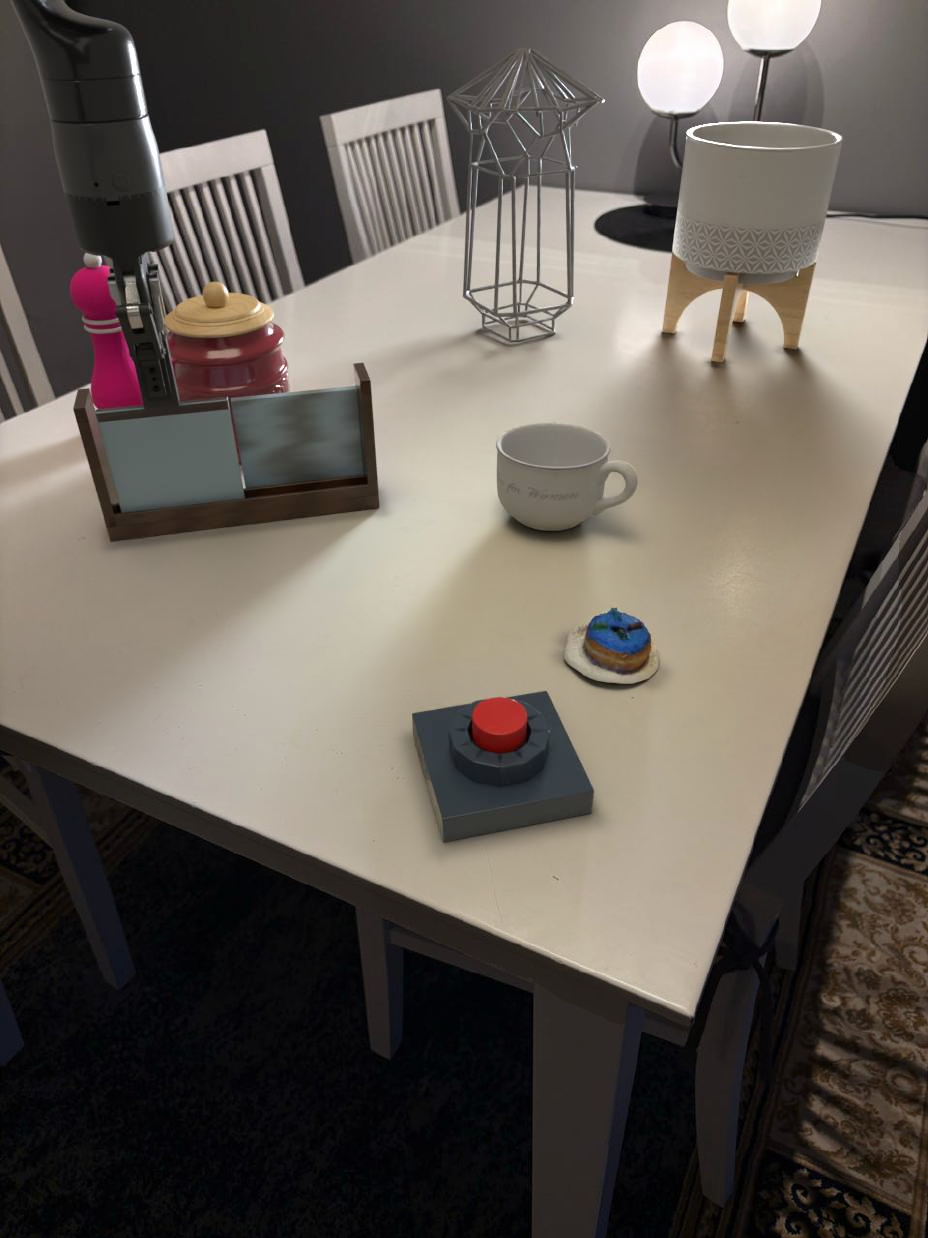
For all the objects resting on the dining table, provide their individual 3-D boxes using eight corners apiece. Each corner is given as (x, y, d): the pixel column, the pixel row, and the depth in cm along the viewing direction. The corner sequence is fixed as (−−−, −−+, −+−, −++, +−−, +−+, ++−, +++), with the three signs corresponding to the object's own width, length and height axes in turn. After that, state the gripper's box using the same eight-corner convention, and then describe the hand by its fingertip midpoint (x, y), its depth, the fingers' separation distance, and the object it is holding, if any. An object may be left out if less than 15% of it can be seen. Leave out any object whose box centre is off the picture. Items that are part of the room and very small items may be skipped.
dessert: (679, 675, 69) (641, 626, 66) (608, 722, 71) (567, 677, 68) (646, 619, 76) (609, 573, 73) (581, 664, 77) (543, 620, 74)
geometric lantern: (500, 357, 124) (505, 57, 103) (444, 323, 135) (439, 45, 114) (593, 336, 130) (616, 49, 109) (532, 305, 141) (543, 39, 120)
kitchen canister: (315, 448, 102) (296, 288, 92) (202, 477, 97) (169, 310, 86) (272, 407, 111) (251, 257, 101) (167, 431, 106) (133, 276, 95)
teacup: (472, 516, 90) (472, 442, 85) (541, 478, 96) (545, 407, 92) (585, 569, 82) (592, 491, 78) (652, 524, 89) (663, 449, 84)
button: (479, 758, 59) (479, 738, 58) (466, 721, 61) (466, 701, 60) (533, 748, 59) (534, 729, 58) (517, 712, 62) (518, 693, 61)
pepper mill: (89, 440, 104) (40, 259, 92) (119, 414, 110) (75, 240, 98) (149, 444, 103) (106, 262, 91) (175, 418, 109) (138, 243, 97)
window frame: (110, 541, 87) (72, 408, 79) (113, 518, 90) (77, 389, 82) (379, 507, 92) (370, 379, 83) (372, 487, 95) (363, 362, 87)
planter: (647, 352, 125) (672, 142, 110) (676, 310, 139) (702, 118, 124) (789, 371, 119) (836, 152, 104) (804, 325, 133) (848, 126, 118)
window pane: (123, 522, 86) (76, 347, 76) (124, 514, 88) (78, 341, 77) (246, 508, 88) (216, 335, 78) (245, 500, 90) (216, 329, 80)
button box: (443, 842, 58) (441, 800, 55) (412, 735, 65) (410, 693, 63) (592, 813, 60) (597, 770, 57) (545, 712, 67) (548, 671, 65)
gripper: (71, 167, 75) (120, 369, 85) (52, 204, 64) (110, 431, 75) (165, 162, 76) (202, 362, 87) (161, 198, 66) (204, 421, 76)
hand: (159, 393), depth 81 cm, fingers closed on window pane
